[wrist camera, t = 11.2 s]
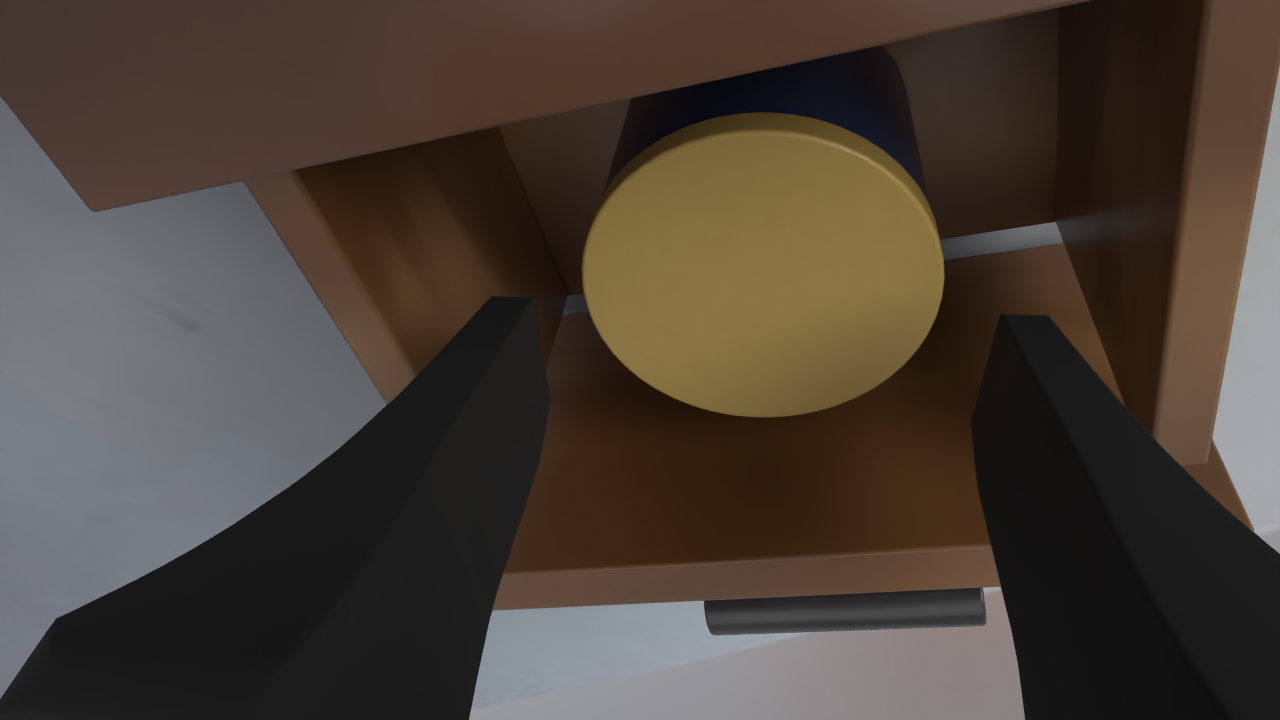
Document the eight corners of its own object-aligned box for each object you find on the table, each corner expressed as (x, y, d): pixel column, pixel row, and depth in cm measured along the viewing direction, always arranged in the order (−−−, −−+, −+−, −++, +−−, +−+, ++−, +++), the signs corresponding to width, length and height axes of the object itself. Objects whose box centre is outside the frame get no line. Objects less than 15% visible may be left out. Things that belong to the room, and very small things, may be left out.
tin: (893, 255, 19) (916, 427, 15) (634, 248, 20) (597, 411, 16) (934, -12, 15) (978, 132, 12) (614, -7, 16) (560, 129, 12)
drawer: (1106, 418, 23) (1210, 715, 17) (606, 465, 26) (553, 720, 21) (1184, -672, 11) (1616, -905, 5) (255, -308, 15) (-94, -207, 9)
